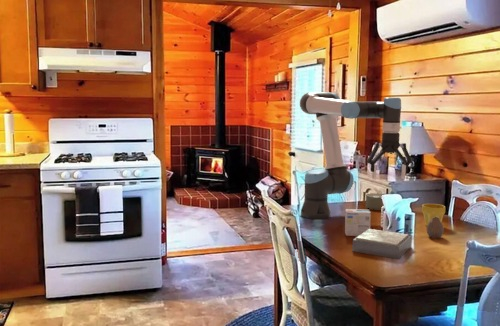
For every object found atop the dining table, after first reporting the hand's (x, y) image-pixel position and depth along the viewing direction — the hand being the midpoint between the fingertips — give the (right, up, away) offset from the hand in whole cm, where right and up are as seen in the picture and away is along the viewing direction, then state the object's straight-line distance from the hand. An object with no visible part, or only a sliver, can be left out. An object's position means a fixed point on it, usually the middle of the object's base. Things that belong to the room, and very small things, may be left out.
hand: (388, 179), depth 224 cm
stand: (-10, -27, -28) cm, 40 cm away
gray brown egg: (+17, -25, -10) cm, 32 cm away
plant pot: (+24, -23, +10) cm, 34 cm away
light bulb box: (-16, -24, -6) cm, 30 cm away
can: (+7, -18, +49) cm, 53 cm away
